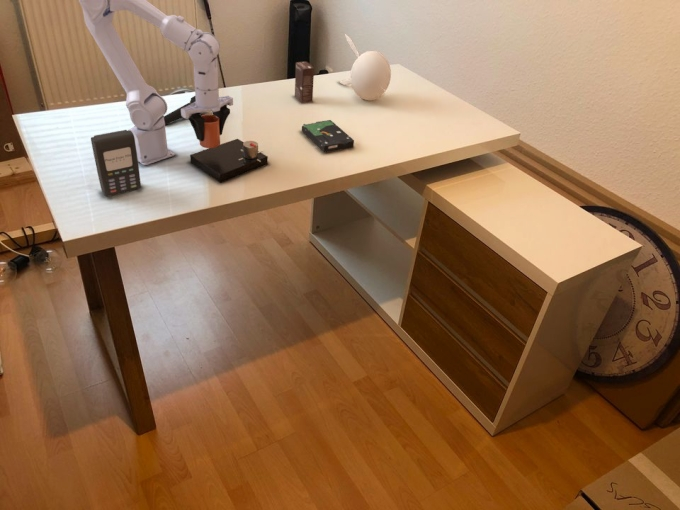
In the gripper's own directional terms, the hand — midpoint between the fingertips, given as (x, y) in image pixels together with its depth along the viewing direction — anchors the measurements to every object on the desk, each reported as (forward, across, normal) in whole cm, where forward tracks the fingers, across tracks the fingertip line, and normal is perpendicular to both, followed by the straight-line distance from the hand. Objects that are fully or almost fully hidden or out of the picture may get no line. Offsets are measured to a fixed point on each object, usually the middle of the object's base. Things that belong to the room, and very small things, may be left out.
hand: (209, 136), depth 144 cm
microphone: (+8, +9, +28) cm, 31 cm away
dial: (+5, +8, -7) cm, 12 cm away
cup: (+2, 0, 0) cm, 2 cm away
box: (+8, +51, +17) cm, 54 cm away
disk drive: (+8, +36, -9) cm, 38 cm away
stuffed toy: (+8, +71, +8) cm, 72 cm away
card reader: (+8, -25, +2) cm, 26 cm away
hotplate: (+8, +4, -3) cm, 9 cm away
